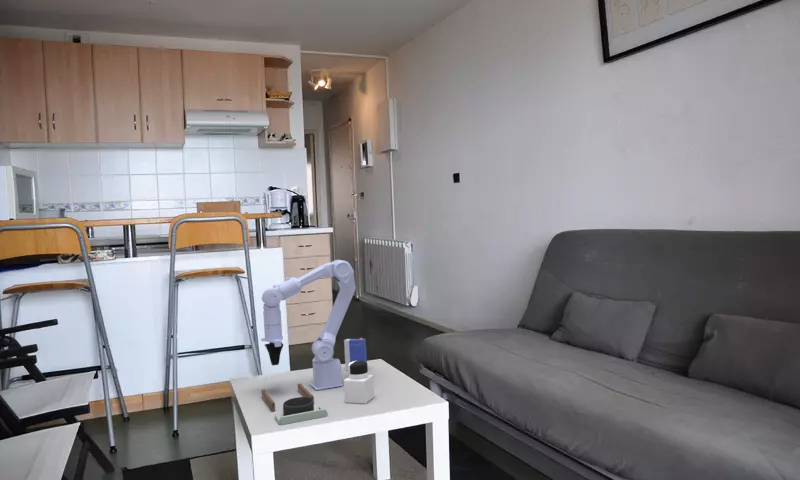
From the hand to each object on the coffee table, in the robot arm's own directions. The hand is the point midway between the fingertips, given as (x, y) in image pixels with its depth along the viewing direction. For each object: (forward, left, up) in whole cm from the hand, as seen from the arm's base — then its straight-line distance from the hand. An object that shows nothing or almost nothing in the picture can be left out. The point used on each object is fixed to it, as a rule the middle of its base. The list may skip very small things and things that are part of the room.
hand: (275, 364), depth 189 cm
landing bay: (-1, +30, -9) cm, 32 cm away
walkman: (-33, -13, -10) cm, 37 cm away
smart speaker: (-1, +27, -10) cm, 28 cm away
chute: (-1, +12, -9) cm, 15 cm away
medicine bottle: (-21, +24, -10) cm, 33 cm away
